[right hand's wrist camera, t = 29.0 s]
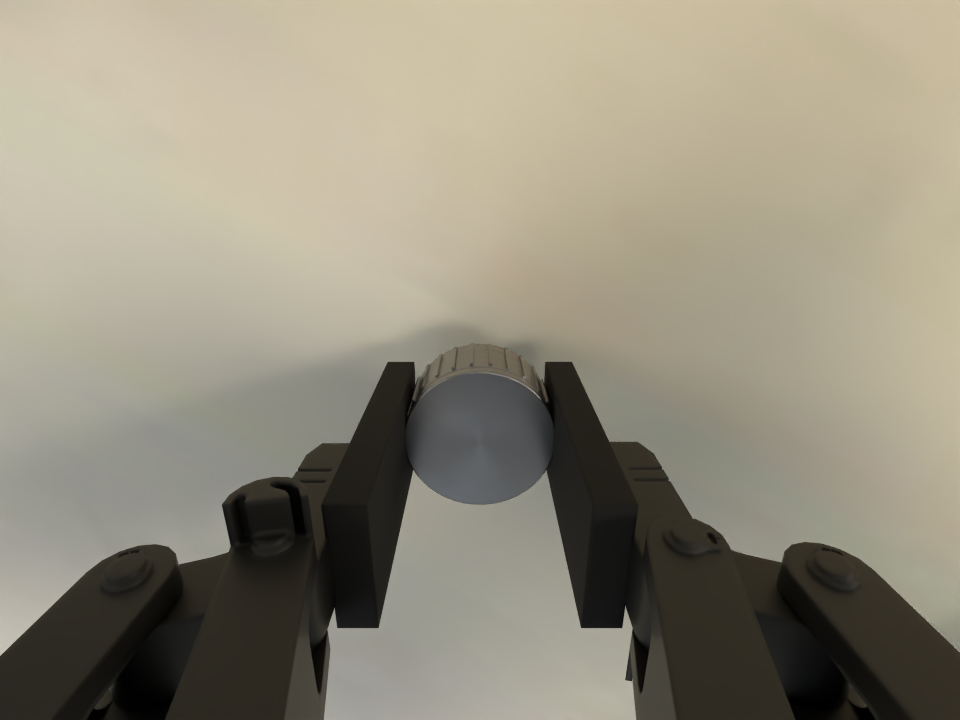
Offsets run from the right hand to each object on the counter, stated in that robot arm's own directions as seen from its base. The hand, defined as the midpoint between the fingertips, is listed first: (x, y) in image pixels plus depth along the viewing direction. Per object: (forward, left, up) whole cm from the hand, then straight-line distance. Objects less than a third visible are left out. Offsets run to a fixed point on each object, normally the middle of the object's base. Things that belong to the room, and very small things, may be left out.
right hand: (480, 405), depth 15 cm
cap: (0, 0, +2) cm, 2 cm away
